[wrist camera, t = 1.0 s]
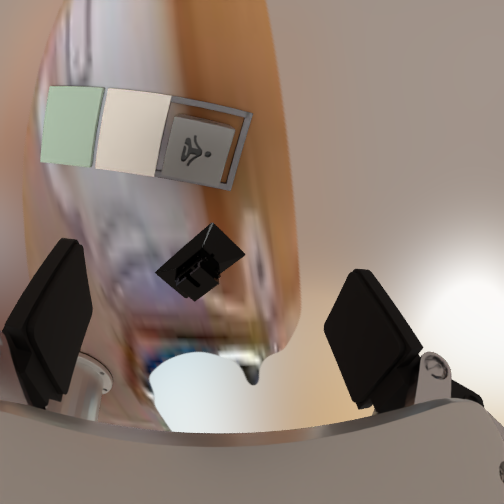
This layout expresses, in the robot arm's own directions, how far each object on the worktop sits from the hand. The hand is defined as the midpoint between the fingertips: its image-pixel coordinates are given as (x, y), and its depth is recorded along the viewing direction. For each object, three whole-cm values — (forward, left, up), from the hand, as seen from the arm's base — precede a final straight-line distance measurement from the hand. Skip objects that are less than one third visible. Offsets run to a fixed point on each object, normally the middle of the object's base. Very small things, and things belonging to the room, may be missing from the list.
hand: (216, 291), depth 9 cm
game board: (+2, +8, -21) cm, 22 cm away
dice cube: (+1, +1, -21) cm, 21 cm away
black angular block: (-12, -2, -21) cm, 25 cm away
